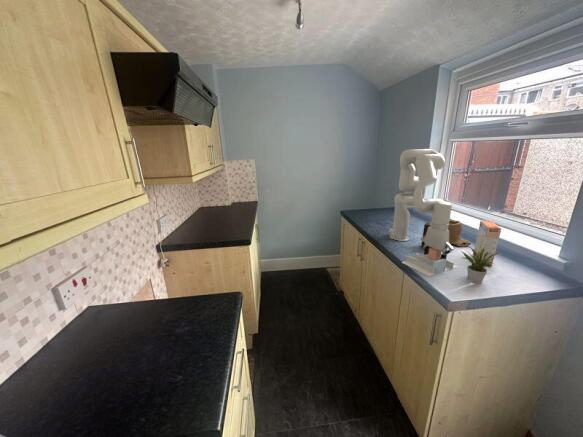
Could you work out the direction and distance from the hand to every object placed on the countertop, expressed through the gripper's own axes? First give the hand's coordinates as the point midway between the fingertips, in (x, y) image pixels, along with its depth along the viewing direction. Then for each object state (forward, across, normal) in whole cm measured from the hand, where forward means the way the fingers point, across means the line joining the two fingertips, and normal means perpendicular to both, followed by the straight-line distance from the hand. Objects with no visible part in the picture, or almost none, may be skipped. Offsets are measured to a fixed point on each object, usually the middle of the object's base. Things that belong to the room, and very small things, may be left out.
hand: (434, 257), depth 122 cm
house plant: (+5, +19, +4) cm, 20 cm away
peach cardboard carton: (+3, 0, 0) cm, 3 cm away
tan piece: (+4, -14, +39) cm, 42 cm away
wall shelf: (+4, 0, -3) cm, 5 cm away
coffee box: (+4, -14, +17) cm, 22 cm away
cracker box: (+5, +8, +29) cm, 30 cm away
